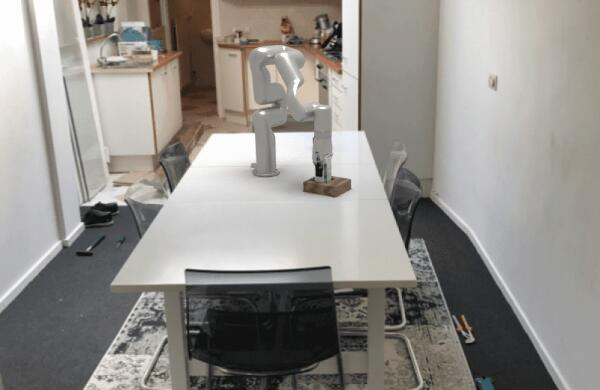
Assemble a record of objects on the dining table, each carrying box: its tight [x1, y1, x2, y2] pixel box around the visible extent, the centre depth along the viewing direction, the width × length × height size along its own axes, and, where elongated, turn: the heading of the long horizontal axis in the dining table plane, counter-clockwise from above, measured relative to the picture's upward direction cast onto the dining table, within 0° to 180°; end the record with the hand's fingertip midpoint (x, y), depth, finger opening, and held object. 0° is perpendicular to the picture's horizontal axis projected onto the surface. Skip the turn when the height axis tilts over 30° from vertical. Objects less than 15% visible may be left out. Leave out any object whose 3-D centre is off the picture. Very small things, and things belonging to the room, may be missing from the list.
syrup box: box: [314, 153, 333, 183], centre depth 283 cm, size 6×6×14 cm
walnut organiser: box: [302, 175, 352, 198], centre depth 284 cm, size 16×14×4 cm
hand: (323, 174), depth 284 cm, fingers closed on syrup box, 6 cm apart
